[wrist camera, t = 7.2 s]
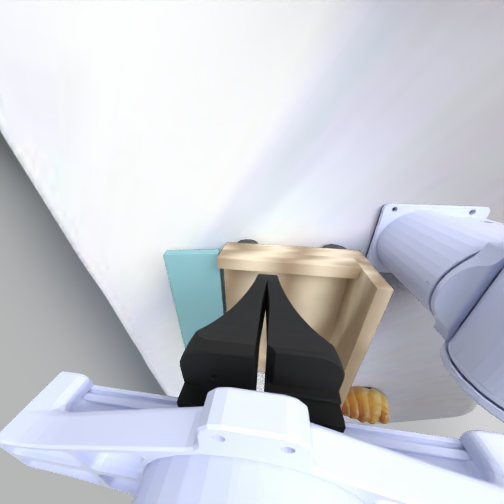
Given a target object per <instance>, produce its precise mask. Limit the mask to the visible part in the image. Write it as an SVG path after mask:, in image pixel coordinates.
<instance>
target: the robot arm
mask: <svg viewBox="0 0 504 504" xmlns="http://www.w3.org/2000/svg"><path fill="white" fill-rule="evenodd" d="M394 207H396V208H395V210H394V211H392V208H394ZM471 210H472V212H471V213H469V212H470V211H471ZM489 213H490V209H489V208H487V207H478V206H448V205H419V204H390V203H389V204H386V205H384V206H383V208H382V211H381V214H380V217H379V221H378V224H377V227H376V230H375V233H374V236H373V239H372V242H371V245H370V248H369V251H368V254H367V257H366V259H367V260H368V261H369V262H370V263H371V264H372V266H373V267H374V266H375V267H374V268H375V269H376V270H377V271H378V272H383V273H392V274H393V275H394V276H395V277H396V278H397V279H398V280H399V281H400V282H401V283H402V284H403V285H404V286H405V287H406V288H407V289H408V290H409V291H410V292H411V293H412V294H413V295H414V296H415V297H416V298H417V299H418V300H419V301H420V302H421V303H422V304H423V305H424V306H425V307H426V308H427V309H428V310H429V311H430V312H431V313H432V314H433V315H434V316H435V318H436V323H435V326H434V328H435V329H436V331H437V332H438V333H439V334H440V335H441V336H442V337H443V338H444V339H445V340H446V341H445V343H444V344H443V346H442V348H441V358H442V361H443V363H444V365H445V368H446V369H447V371H448V372H449V374H450V375H451V376H452V378H453V379H454V380H455V381H456V383H457V384H458V385H459V386H460V387H461V388H462V389H463V390H464V391H465V392H466V393H467V394H468V395H469V396H470V397H471V398H472V399H473V400H475V401H476V402H477V403H478V404H479V405H481V406H482V407H483V408H484V409H485V410H487V411H488V412H489V413H491V414H492V415H494V416H495V417H496V418H498V419H499V420H501V421H502V422H504V224H502V223H499V222H495V221H492V220H488V219H486V218H487V216H488V214H489ZM265 311H266V335H267V349H266V367H265V385H264V392H261V391H256V384H257V372H258V360H259V348H260V340H261V334H262V328H263V323H264V317H265ZM180 367H181V371H182V375H183V378H184V382H185V383H184V385H183V388H182V390H181V393H180V395H179V397H178V398H177V397H171V396H164V395H157V394H150V393H143V392H137V391H129V390H123V389H116V388H109V387H103V386H96V385H93V383H92V381H91V379H90V378H89V377H88V376H86V375H83V374H79V373H71V372H65V371H64V372H61V373H60V374H59V375H58V376H57V377H56V378H55V379H54V380H53V381H52V382H51V383H50V384H49V385H47V386H46V387H45V388H44V389H43V390H42V391H41V393H39V395H37V396H36V397H35V398H34V400H32V401H31V402H30V403H29V404H28V405H27V406H26V407H25V408H24V409H23V410H22V411H21V412H20V413H19V414H18V415H17V416H16V417H15V418H14V419H13V420H12V421H11V422H10V423H9V424H8V425H7V426H6V427H5V428H4V429H3V430H2V431H1V432H0V447H1V448H3V449H4V450H6V451H7V452H8V453H10V454H11V455H13V456H14V457H16V458H17V459H19V460H20V461H22V462H23V463H24V464H26V465H27V466H29V467H33V468H37V469H42V470H47V471H51V472H55V473H59V474H63V475H67V476H71V477H74V478H77V479H81V480H85V481H88V482H91V483H95V484H99V485H102V486H105V487H108V488H112V489H115V490H119V491H122V492H126V493H129V494H132V495H135V497H134V499H133V502H132V504H504V434H500V433H494V432H486V431H479V430H471V431H467V432H465V433H464V434H462V436H461V437H460V439H455V438H448V437H441V436H434V435H428V434H421V433H414V432H407V431H401V430H394V429H387V428H380V427H373V426H367V425H360V424H353V423H347V422H344V418H343V414H342V410H341V407H340V405H341V397H340V394H339V391H340V388H341V386H342V383H343V381H344V377H345V372H344V369H343V365H342V363H341V360H340V358H339V356H338V354H337V352H336V350H335V348H334V346H333V345H332V344H331V343H329V342H328V341H327V340H325V339H324V338H323V337H322V336H320V335H319V334H318V333H317V332H316V331H315V330H314V329H312V328H311V327H310V326H309V325H308V323H307V322H306V321H305V320H304V319H303V318H302V317H301V316H300V315H299V313H298V312H297V311H296V310H295V308H294V307H293V305H292V304H291V302H290V301H289V299H288V298H287V296H286V294H285V292H284V290H283V288H282V286H281V284H280V281H279V278H278V276H277V275H269V274H258V275H257V277H256V279H255V281H254V283H253V284H252V286H251V287H250V288H249V290H248V291H247V292H246V293H245V295H244V296H243V297H242V298H241V299H240V300H239V301H238V302H237V303H236V304H235V305H234V306H233V307H232V308H231V309H230V310H229V311H227V312H226V313H225V314H224V315H222V316H221V317H219V318H218V319H217V320H215V321H214V322H212V323H210V324H209V325H207V326H205V327H203V328H201V329H199V330H197V331H196V332H195V333H194V335H193V337H192V338H191V340H190V341H189V343H188V345H187V347H186V349H185V351H184V353H183V355H182V357H181V360H180Z"/></svg>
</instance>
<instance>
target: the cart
mask: <svg viewBox="0 0 504 504" xmlns="http://www.w3.org/2000/svg"><path fill="white" fill-rule="evenodd" d="M217 265H218V268H220V269H224V281H225V295H226V309H227V311H229V310H230V309H231V308H232V307H233V306H234V305H235V304H236V303H237V302H238V301H239V300H240V299H241V298H242V297H243V296H244V295H245V293H246V292H247V291H248V290H249V288H250V287H251V286H252V284H253V283H254V281H255V279H256V277H257V275H258V274H269V275H277V276H278V278H279V281H280V284H281V286H282V288H283V290H284V292H285V294H286V296H287V298H288V299H289V301H290V302H291V304H292V305H293V307H294V308H295V310H296V311H297V312H298V313H299V315H300V316H301V317H302V318H303V319H304V320H305V321H306V322H307V323H308V325H309V326H310V327H311V328H312V329H314V330H315V331H316V332H317V333H318V334H319V335H320V336H322V337H323V338H324V339H325V340H327V341H328V342H329V343H331V344H332V345H333V346H334V348H335V350H336V352H337V354H338V356H339V358H340V360H341V363H342V365H343V369H344V372H345V377H344V381H343V383H342V386H341V388H340V391H339V394H340V397H341V405H340V407H341V408H342V406H343V403H344V401H345V399H346V397H347V394H348V392H349V390H350V388H351V385H352V383H353V381H354V379H355V376H356V374H357V372H358V370H359V367H360V365H361V363H362V361H363V358H364V356H365V354H366V352H367V349H368V347H369V345H370V343H371V340H372V338H373V336H374V334H375V331H376V329H377V327H378V325H379V322H380V320H381V318H382V316H383V313H384V311H385V309H386V307H387V304H388V302H389V300H390V298H391V295H392V293H393V291H394V290H393V288H392V287H391V286H390V285H389V284H388V283H387V282H386V280H385V279H384V278H383V277H382V276H381V275H380V274H379V272H378V271H377V270H376V269H375V268H374V267H373V266H372V264H371V263H370V262H369V261H368V260H367V259H366V258H365V256H364V255H363V254H362V253H361V252H360V251H359V250H347V249H346V248H344V247H342V246H339V245H333V244H329V245H326V246H324V248H313V247H297V246H281V245H264V244H258V243H257V242H256V241H254V240H241V241H239V242H238V243H231V242H227V243H226V244H225V246H224V248H223V249H222V251H221V252H220V254H219V256H218V257H217ZM266 349H267V335H266V311H265V317H264V323H263V328H262V334H261V340H260V348H259V360H258V372H263V373H265V367H266Z"/></svg>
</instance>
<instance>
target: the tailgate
mask: <svg viewBox="0 0 504 504" xmlns="http://www.w3.org/2000/svg"><path fill="white" fill-rule="evenodd" d="M219 254H220V252H219V249H210V250H167V251H166V252H165V254H164V255H163V256H164V260H165V265H166V269H167V273H168V277H169V282H170V286H171V290H172V295H173V299H174V303H175V307H176V312H177V316H178V320H179V324H180V329H181V333H182V337H183V341H184V346H185V349H186V347H187V345H188V343H189V341H190V340H191V338H192V337H193V335H194V333H195V332H196V331H197V330H199V329H201V328H203V327H205V326H207V325H209V324H210V323H212V322H214V321H215V320H217V319H218V318H219V317H221V316H222V315H224V302H223V290H222V277H221V269H220V268H218V265H217V257H218V256H219Z"/></svg>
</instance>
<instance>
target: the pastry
mask: <svg viewBox="0 0 504 504" xmlns="http://www.w3.org/2000/svg"><path fill="white" fill-rule="evenodd" d="M341 410H342V414H343V415H345V416H349V417H350V418H354V419H358V420H359V421H360V422H361V423H363V422H366V421H367V422H369V423H371V424H374V423H376V422H377V421H378V422H380V423H382V424H387V423H388V421H389V407H388V402H387V399H386V396H385V395H384V394H383V393H381V392H380V391H378V390H377V389H374V388H371V389H367V388H365V387H351V388H350V390H349V392H348V394H347V397H346V399H345V401H344V403H343V406H342V408H341Z"/></svg>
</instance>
